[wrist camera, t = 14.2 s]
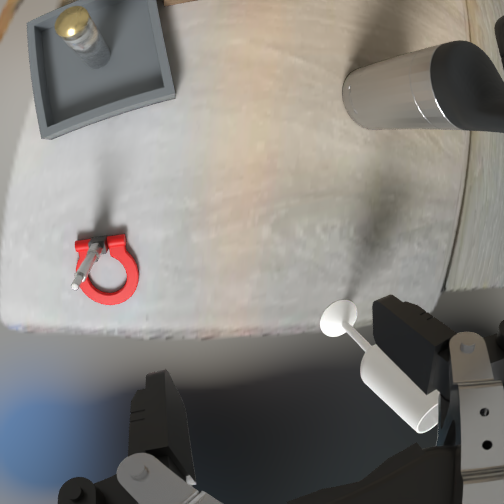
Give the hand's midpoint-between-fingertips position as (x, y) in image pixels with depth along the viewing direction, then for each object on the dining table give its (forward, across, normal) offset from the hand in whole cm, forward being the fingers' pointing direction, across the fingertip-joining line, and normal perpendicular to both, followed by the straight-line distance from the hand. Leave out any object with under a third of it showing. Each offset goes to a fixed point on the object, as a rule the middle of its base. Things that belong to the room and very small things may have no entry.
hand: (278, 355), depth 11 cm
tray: (+30, +8, -22) cm, 38 cm away
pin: (+29, +8, -22) cm, 38 cm away
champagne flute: (+30, -16, +22) cm, 41 cm away
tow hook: (+30, +14, +4) cm, 34 cm away
